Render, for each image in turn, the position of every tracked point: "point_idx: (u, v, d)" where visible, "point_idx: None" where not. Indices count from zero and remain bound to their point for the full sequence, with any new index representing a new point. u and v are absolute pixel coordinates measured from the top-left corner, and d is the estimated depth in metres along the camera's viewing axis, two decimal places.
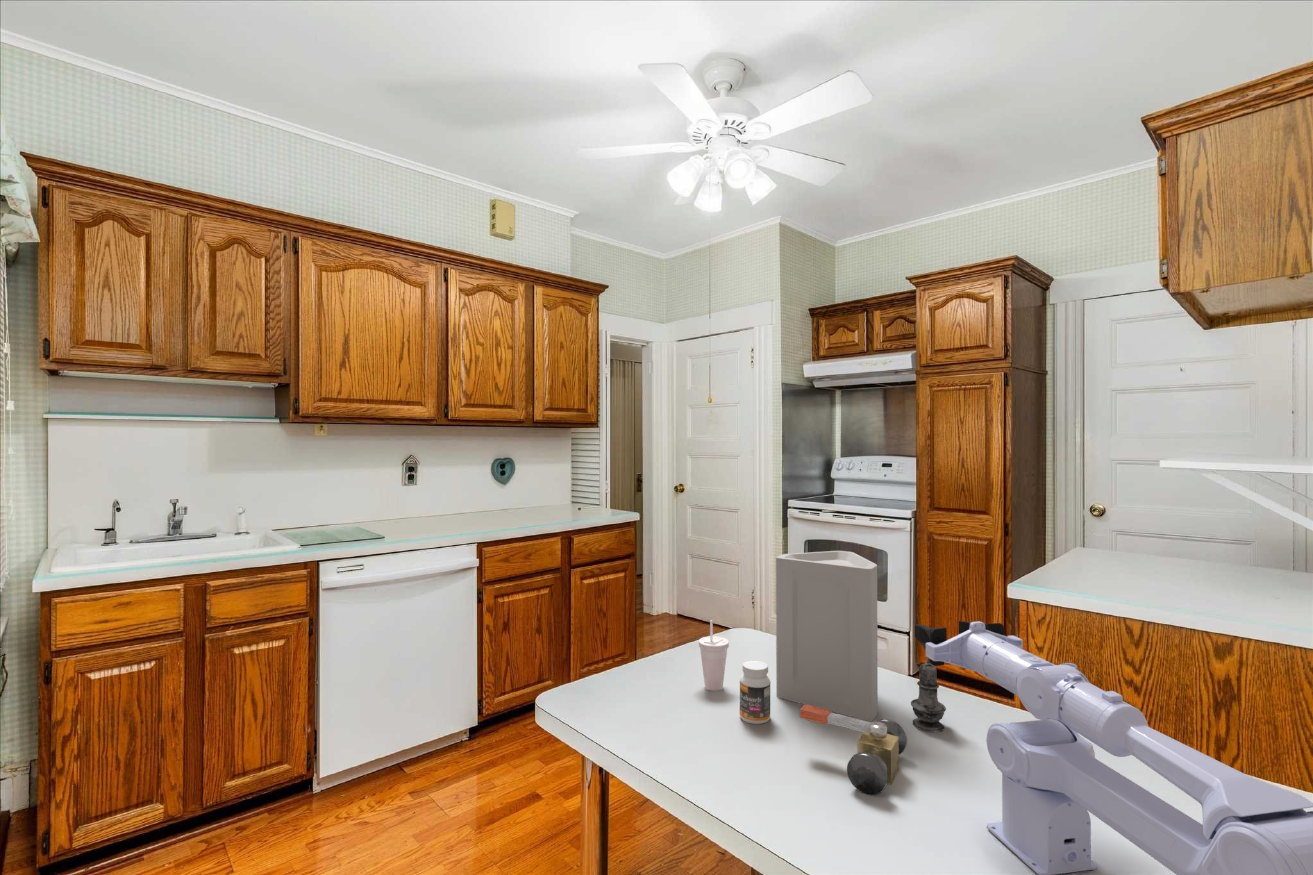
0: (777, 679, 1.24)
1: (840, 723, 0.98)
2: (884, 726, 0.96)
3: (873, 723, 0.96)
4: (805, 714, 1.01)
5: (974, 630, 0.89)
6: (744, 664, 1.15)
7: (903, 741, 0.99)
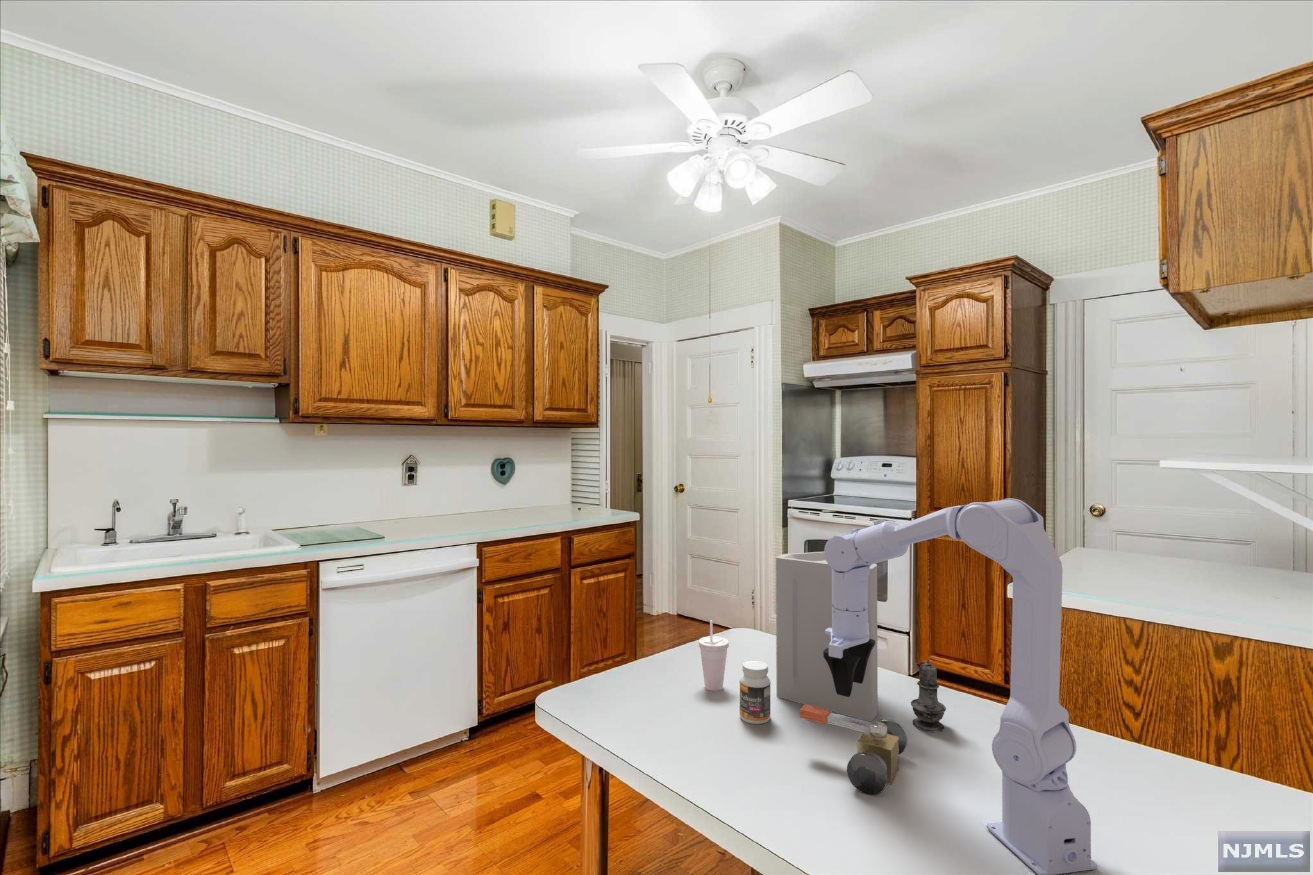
0: (777, 679, 1.24)
1: (840, 723, 0.98)
2: (884, 726, 0.96)
3: (873, 723, 0.96)
4: (805, 714, 1.01)
5: (831, 631, 1.03)
6: (744, 664, 1.15)
7: (903, 741, 0.99)
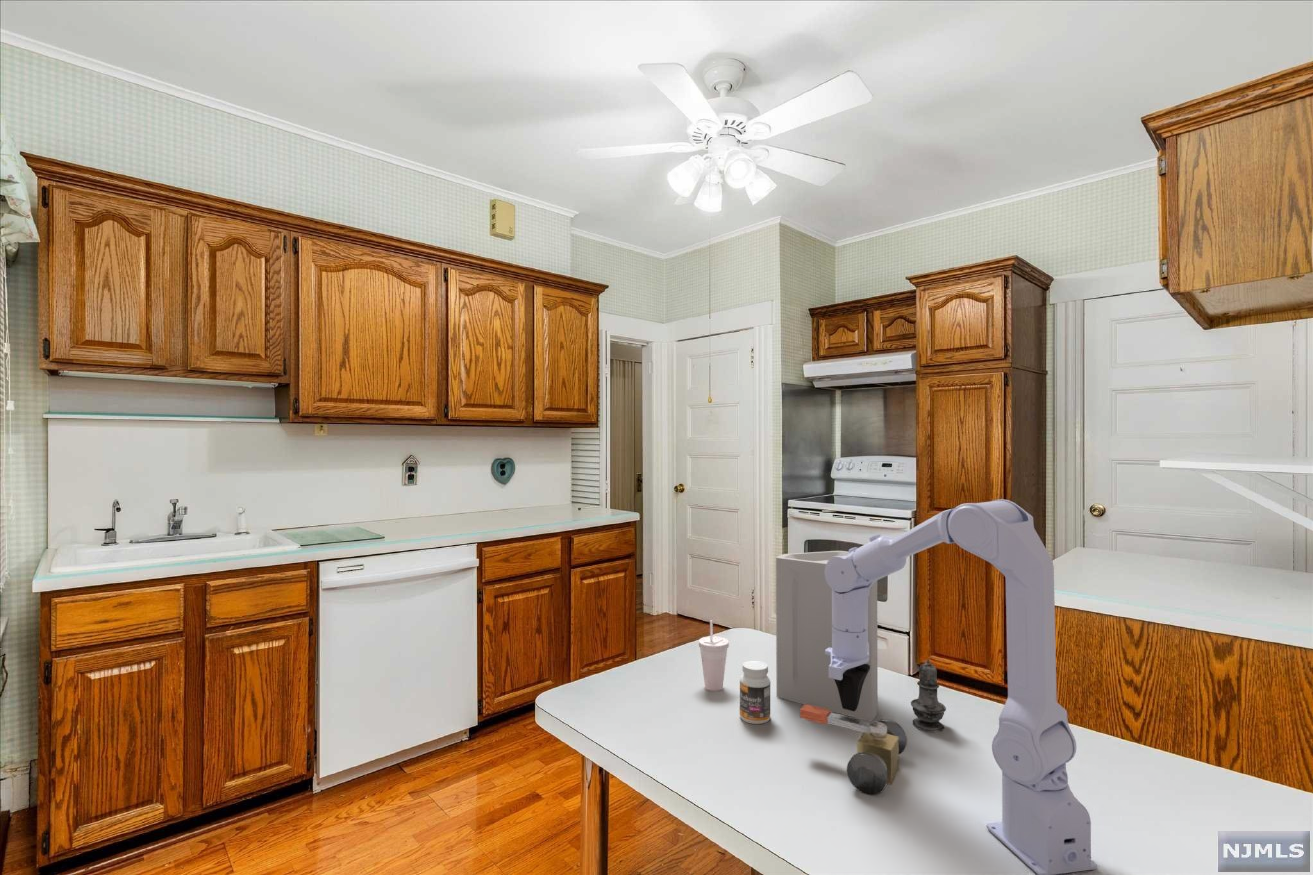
0: (777, 679, 1.24)
1: (840, 723, 0.98)
2: (884, 726, 0.96)
3: (873, 723, 0.96)
4: (805, 714, 1.01)
5: (831, 651, 1.04)
6: (744, 664, 1.15)
7: (903, 741, 0.99)
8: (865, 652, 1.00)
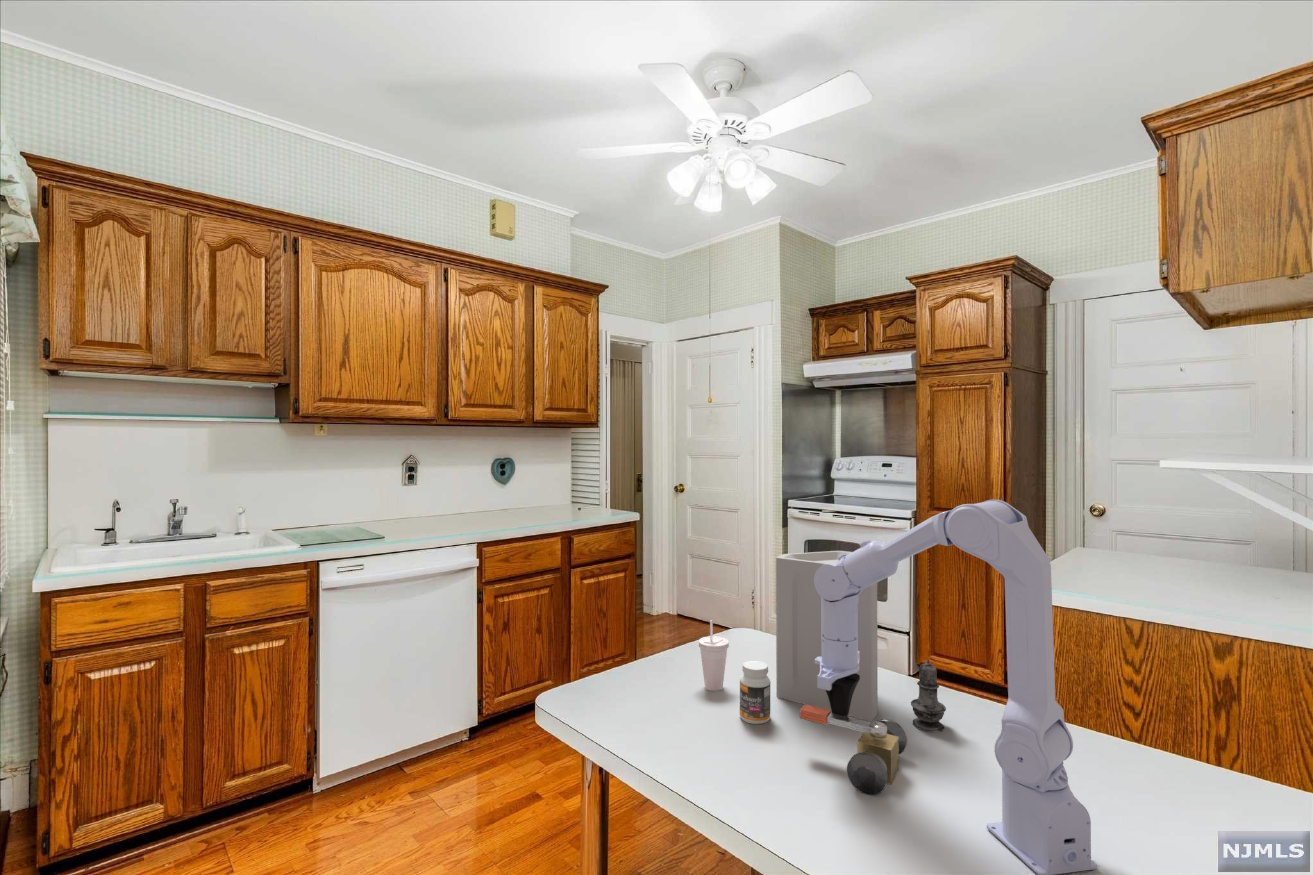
0: (777, 679, 1.24)
1: (840, 723, 0.98)
2: (884, 726, 0.96)
3: (873, 723, 0.96)
4: (805, 714, 1.01)
5: (820, 660, 1.02)
6: (744, 664, 1.15)
7: (903, 741, 0.99)
8: (855, 661, 0.98)
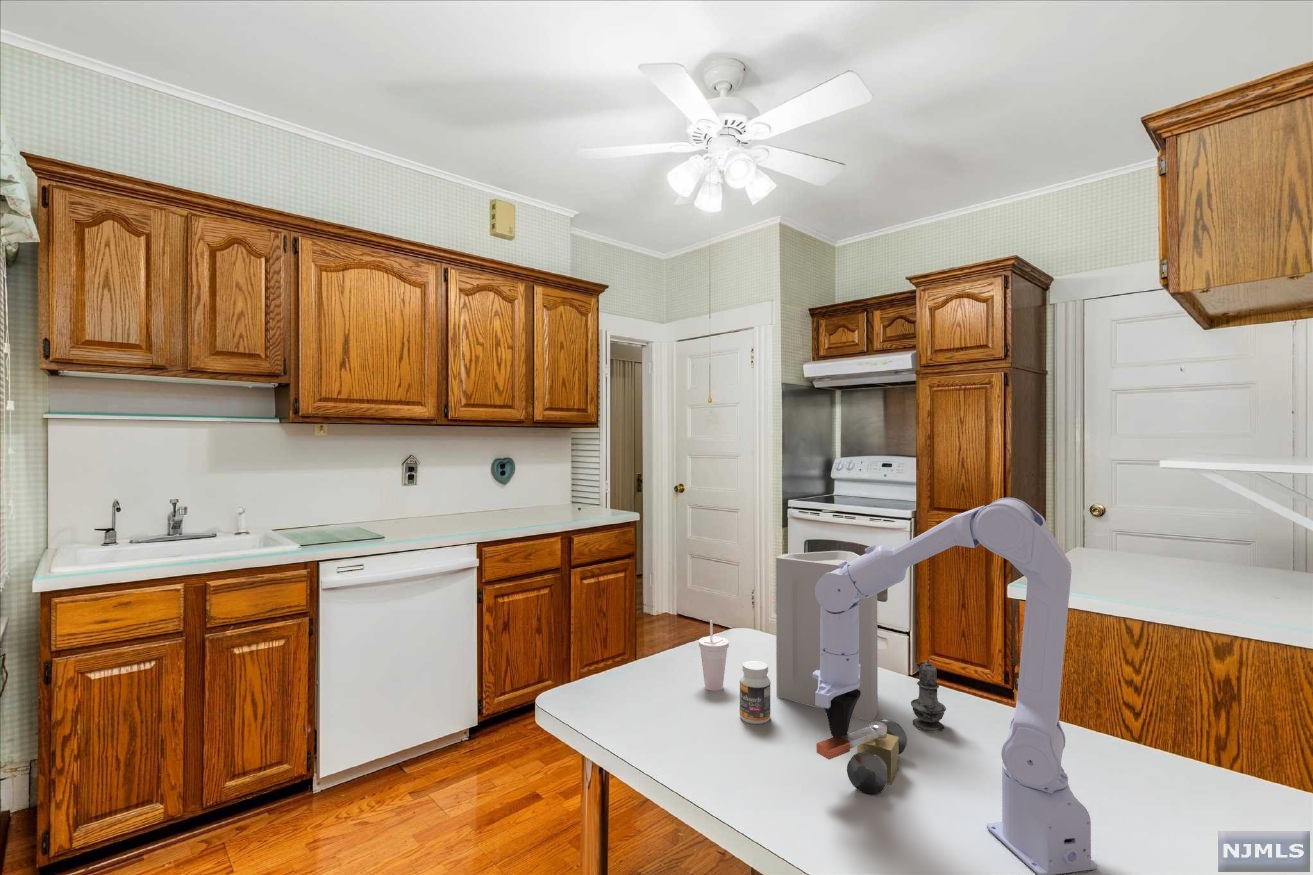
0: (777, 679, 1.24)
1: (858, 742, 0.92)
2: (880, 723, 0.96)
3: (873, 726, 0.96)
4: (833, 752, 0.89)
5: (818, 674, 0.95)
6: (744, 664, 1.15)
7: (903, 741, 0.99)
8: (856, 676, 0.92)
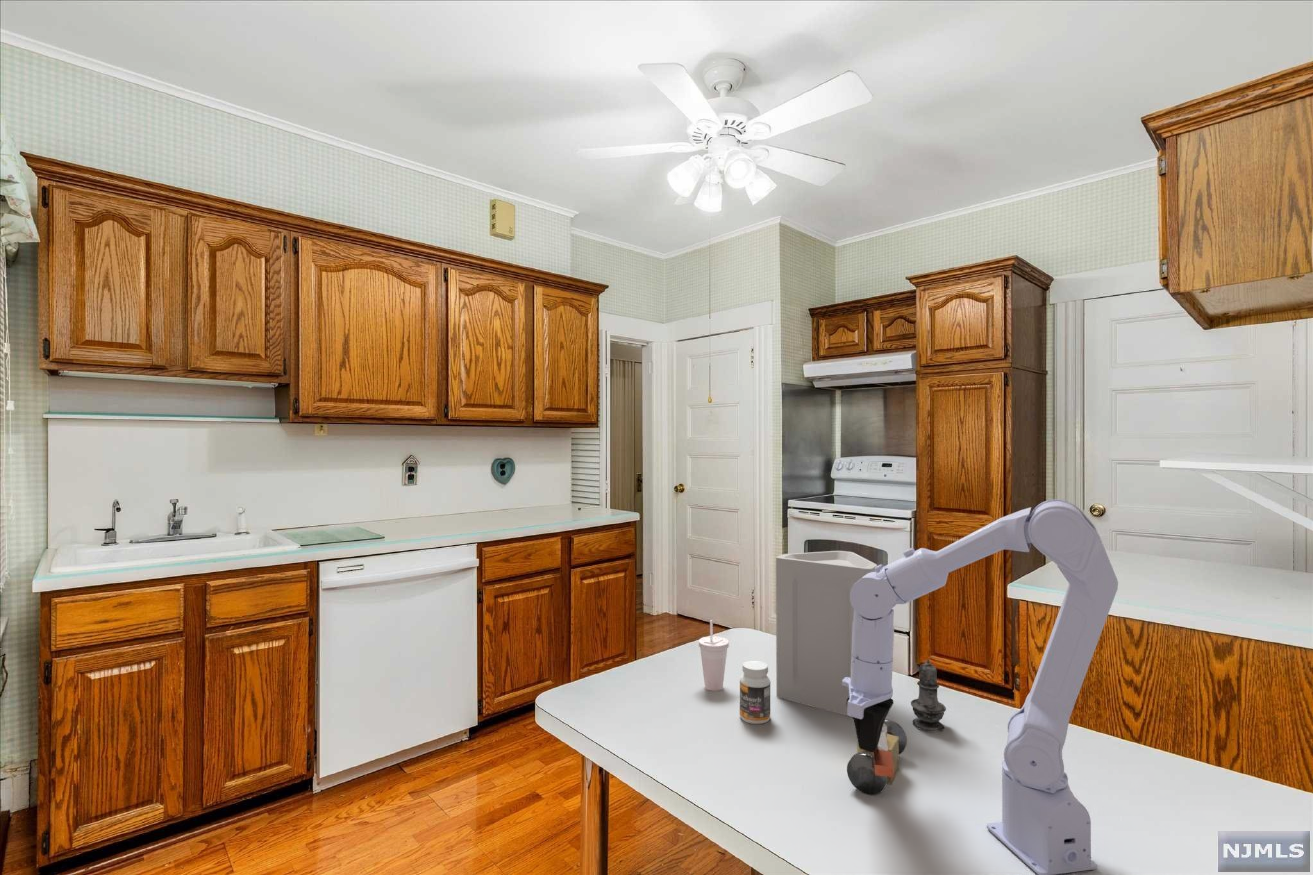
0: (777, 679, 1.24)
1: None
2: None
3: None
4: None
5: (849, 682, 0.91)
6: (744, 664, 1.15)
7: (903, 741, 0.99)
8: (889, 686, 0.88)
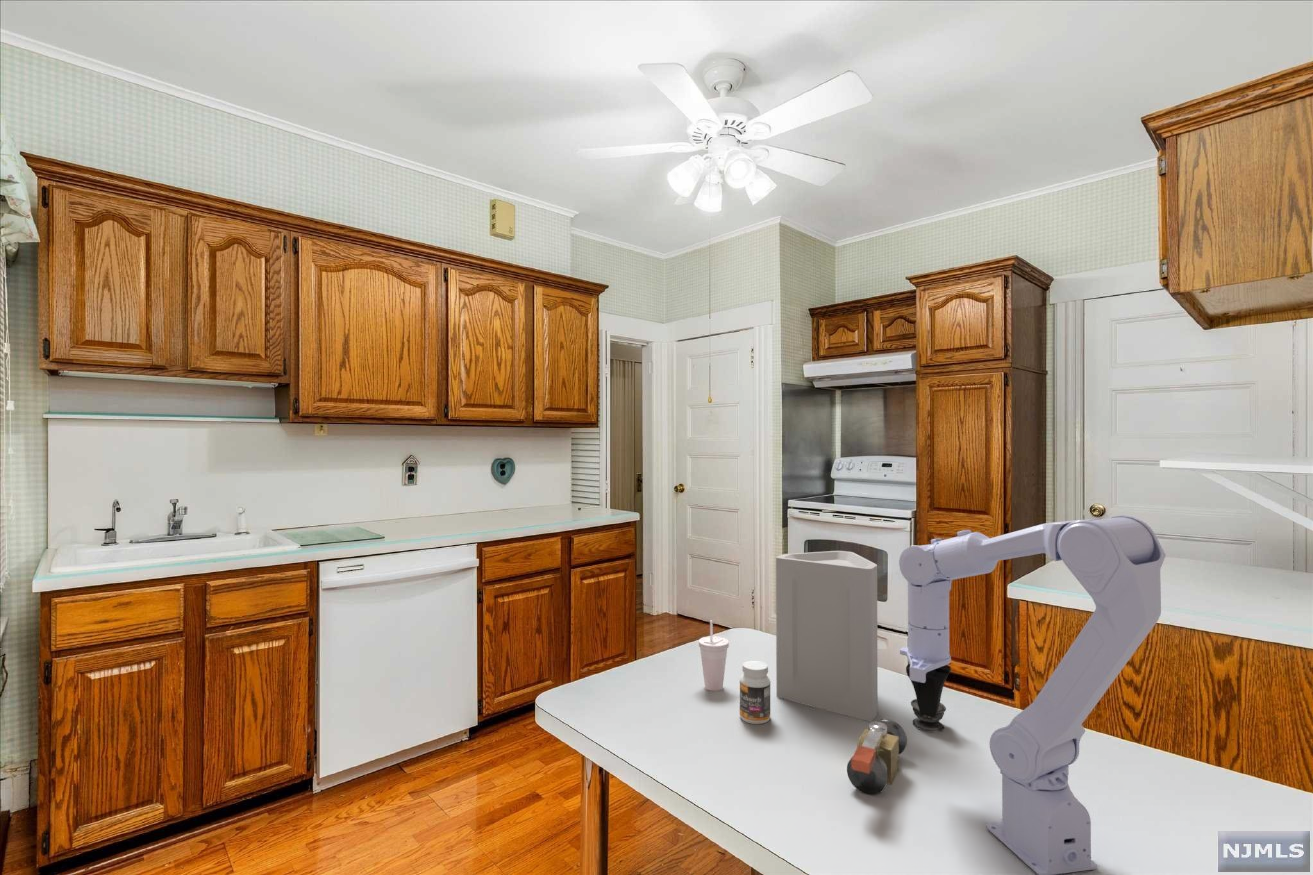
0: (777, 679, 1.24)
1: (876, 747, 0.91)
2: (877, 722, 0.97)
3: (875, 727, 0.95)
4: (870, 765, 0.85)
5: (906, 650, 0.94)
6: (744, 664, 1.15)
7: (903, 741, 0.99)
8: (947, 652, 0.91)
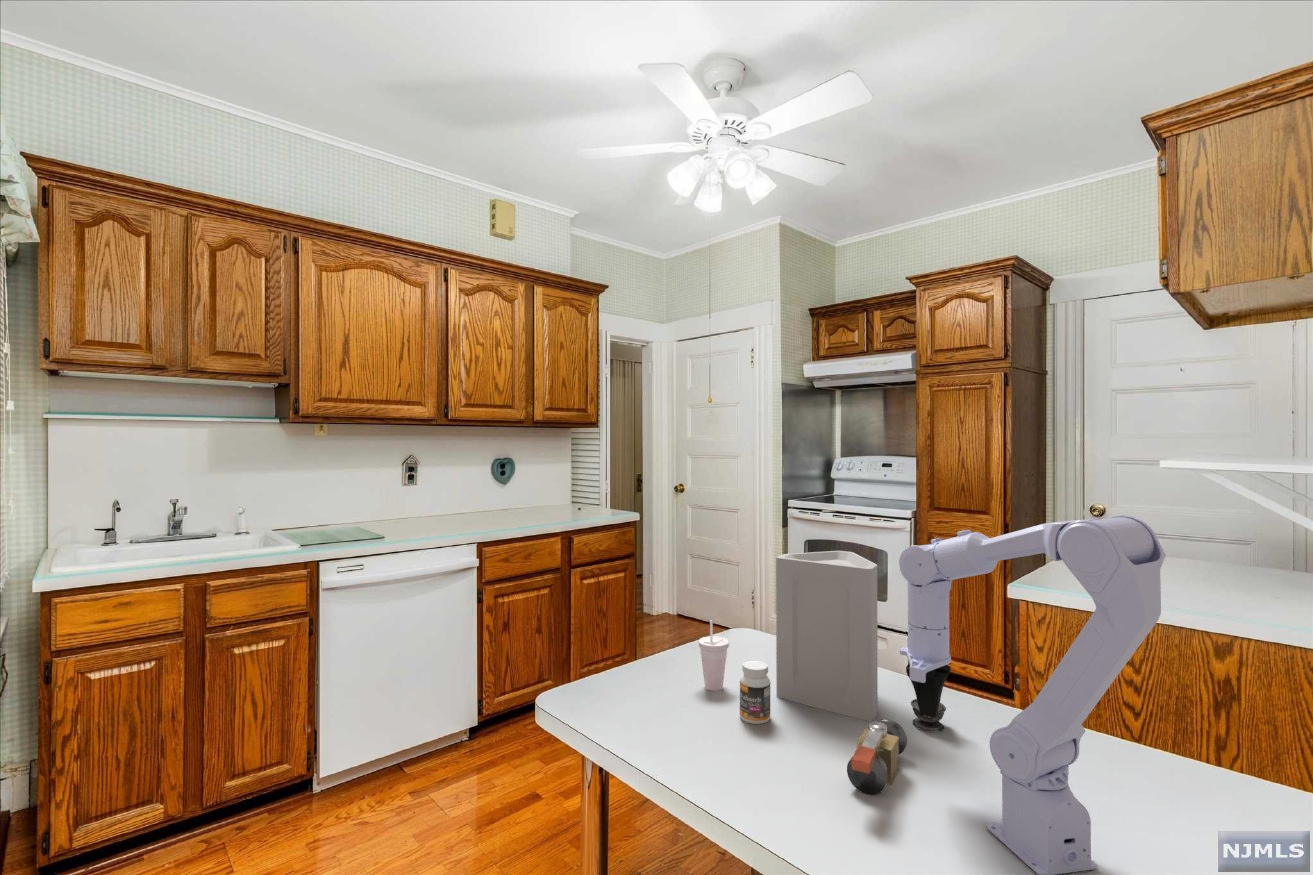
0: (777, 679, 1.24)
1: (876, 747, 0.91)
2: (877, 722, 0.97)
3: (875, 727, 0.95)
4: (870, 765, 0.85)
5: (906, 650, 0.94)
6: (744, 664, 1.15)
7: (903, 741, 0.99)
8: (947, 652, 0.91)
